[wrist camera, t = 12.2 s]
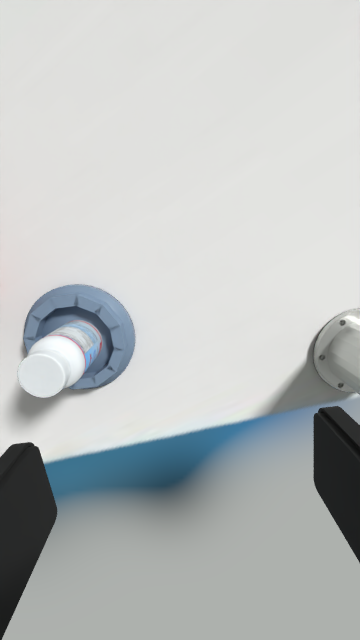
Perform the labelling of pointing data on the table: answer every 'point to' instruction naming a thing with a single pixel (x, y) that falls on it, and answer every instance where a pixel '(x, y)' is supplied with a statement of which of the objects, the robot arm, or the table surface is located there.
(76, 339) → the pill bottle
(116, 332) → the round tray
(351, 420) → the robot arm
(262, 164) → the table surface
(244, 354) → the table surface
